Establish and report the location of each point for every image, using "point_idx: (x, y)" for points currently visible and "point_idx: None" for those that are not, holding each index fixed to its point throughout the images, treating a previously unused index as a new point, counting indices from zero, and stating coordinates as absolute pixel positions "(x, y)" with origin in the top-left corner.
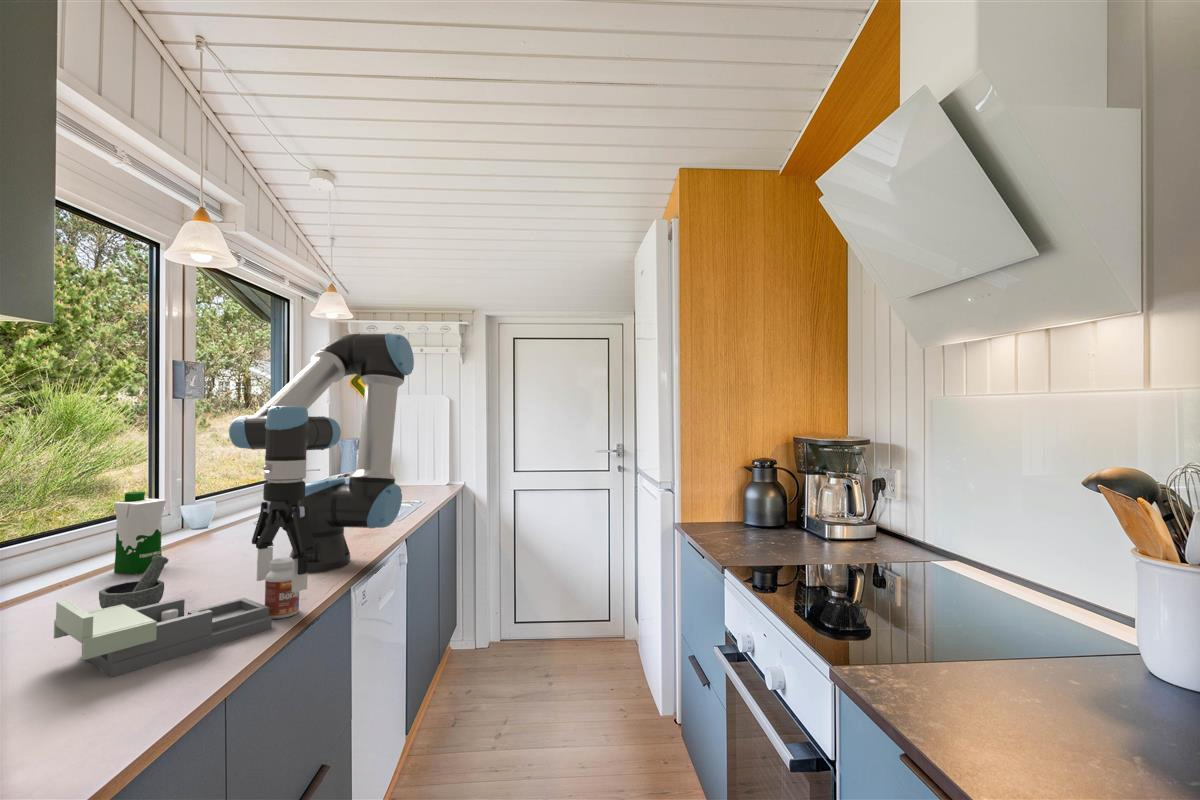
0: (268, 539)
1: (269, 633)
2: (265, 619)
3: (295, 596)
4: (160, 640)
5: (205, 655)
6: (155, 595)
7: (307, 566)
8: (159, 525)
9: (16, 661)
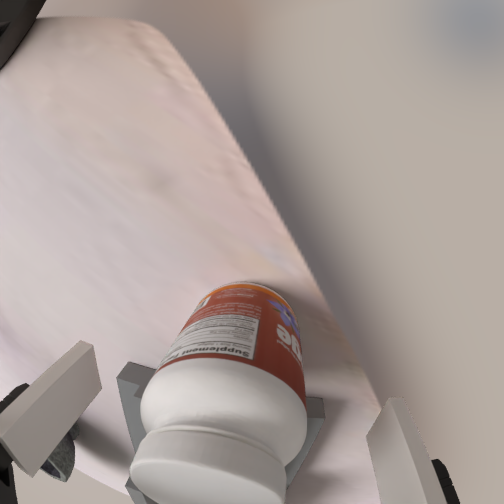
0: (3, 501)
1: (344, 412)
2: (319, 429)
3: (301, 356)
4: None
5: (314, 478)
6: (57, 450)
7: (450, 484)
8: None
9: (126, 493)
